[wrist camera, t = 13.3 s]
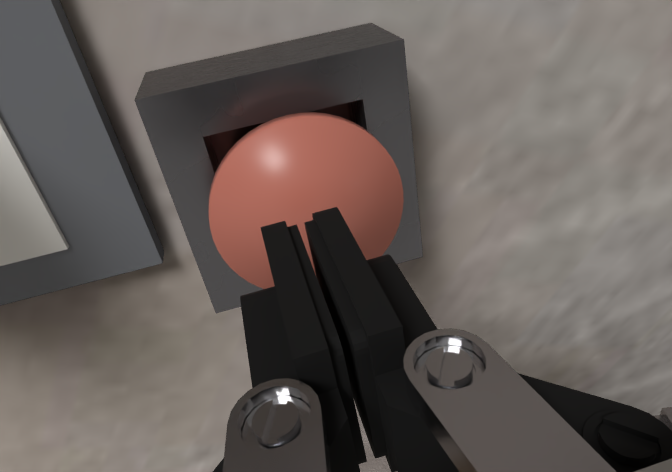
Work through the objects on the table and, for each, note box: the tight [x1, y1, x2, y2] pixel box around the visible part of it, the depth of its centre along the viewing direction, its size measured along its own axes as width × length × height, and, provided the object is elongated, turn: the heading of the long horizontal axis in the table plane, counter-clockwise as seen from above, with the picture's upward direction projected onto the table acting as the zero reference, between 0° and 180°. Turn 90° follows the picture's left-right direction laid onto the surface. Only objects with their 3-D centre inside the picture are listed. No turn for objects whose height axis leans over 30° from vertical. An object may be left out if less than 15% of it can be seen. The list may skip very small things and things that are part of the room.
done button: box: [209, 112, 404, 289], centre depth 15 cm, size 5×5×3 cm
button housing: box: [135, 23, 423, 313], centre depth 16 cm, size 7×7×3 cm
